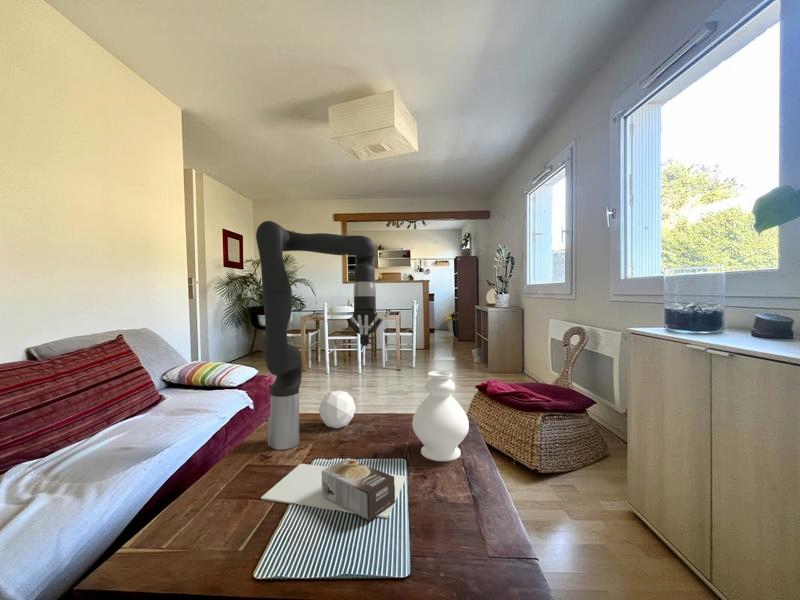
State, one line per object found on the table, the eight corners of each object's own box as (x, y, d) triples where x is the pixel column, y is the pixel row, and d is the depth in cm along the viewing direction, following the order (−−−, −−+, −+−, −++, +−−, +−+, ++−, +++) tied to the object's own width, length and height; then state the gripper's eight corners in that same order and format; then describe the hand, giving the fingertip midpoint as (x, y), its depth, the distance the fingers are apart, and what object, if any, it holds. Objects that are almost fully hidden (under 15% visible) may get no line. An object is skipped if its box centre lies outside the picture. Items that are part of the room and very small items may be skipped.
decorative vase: (402, 457, 103) (402, 376, 104) (426, 437, 119) (425, 366, 119) (459, 470, 95) (458, 381, 95) (475, 447, 111) (474, 370, 111)
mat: (261, 499, 82) (261, 497, 82) (300, 464, 99) (300, 463, 99) (387, 518, 74) (387, 516, 74) (406, 477, 91) (406, 476, 91)
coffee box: (348, 456, 89) (395, 475, 79) (348, 481, 89) (396, 502, 79) (320, 470, 82) (369, 492, 72) (320, 497, 82) (369, 522, 72)
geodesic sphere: (320, 421, 118) (341, 385, 124) (303, 412, 129) (323, 379, 135) (349, 439, 126) (368, 404, 132) (331, 428, 137) (349, 396, 143)
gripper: (342, 295, 114) (342, 346, 114) (379, 294, 111) (380, 347, 110) (351, 296, 121) (351, 344, 121) (386, 295, 118) (386, 344, 118)
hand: (365, 345), depth 116 cm, fingers closed
